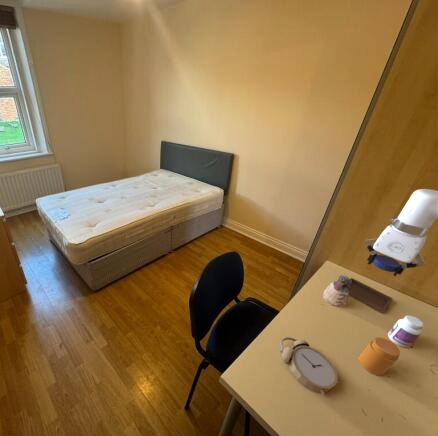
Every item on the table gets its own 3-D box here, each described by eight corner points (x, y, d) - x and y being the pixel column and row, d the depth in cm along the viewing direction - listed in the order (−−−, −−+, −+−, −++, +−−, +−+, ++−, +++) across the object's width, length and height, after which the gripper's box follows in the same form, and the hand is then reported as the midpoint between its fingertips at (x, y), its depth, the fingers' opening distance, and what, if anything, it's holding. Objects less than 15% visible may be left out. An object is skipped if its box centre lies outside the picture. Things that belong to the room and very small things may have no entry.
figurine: (349, 304, 88) (363, 281, 82) (336, 309, 86) (349, 286, 80) (330, 290, 93) (343, 268, 87) (318, 295, 91) (329, 272, 86)
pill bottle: (414, 348, 73) (433, 329, 68) (397, 347, 73) (414, 328, 68) (398, 332, 78) (414, 313, 73) (382, 332, 78) (397, 313, 73)
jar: (387, 367, 68) (405, 349, 63) (380, 380, 65) (398, 361, 60) (362, 351, 72) (377, 332, 68) (354, 362, 69) (369, 343, 65)
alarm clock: (322, 398, 59) (275, 342, 69) (312, 403, 62) (268, 349, 72) (347, 377, 63) (299, 327, 73) (337, 382, 66) (292, 334, 76)
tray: (390, 302, 88) (393, 298, 87) (381, 313, 84) (384, 309, 83) (349, 281, 98) (351, 277, 97) (340, 290, 93) (342, 286, 92)
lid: (369, 263, 84) (372, 259, 83) (375, 257, 87) (378, 252, 86) (393, 274, 79) (396, 269, 78) (399, 267, 82) (402, 262, 81)
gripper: (372, 219, 79) (349, 259, 88) (447, 244, 67) (412, 288, 76) (380, 213, 83) (357, 252, 92) (452, 235, 70) (418, 278, 79)
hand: (382, 268), depth 84 cm, fingers closed on lid, 6 cm apart
